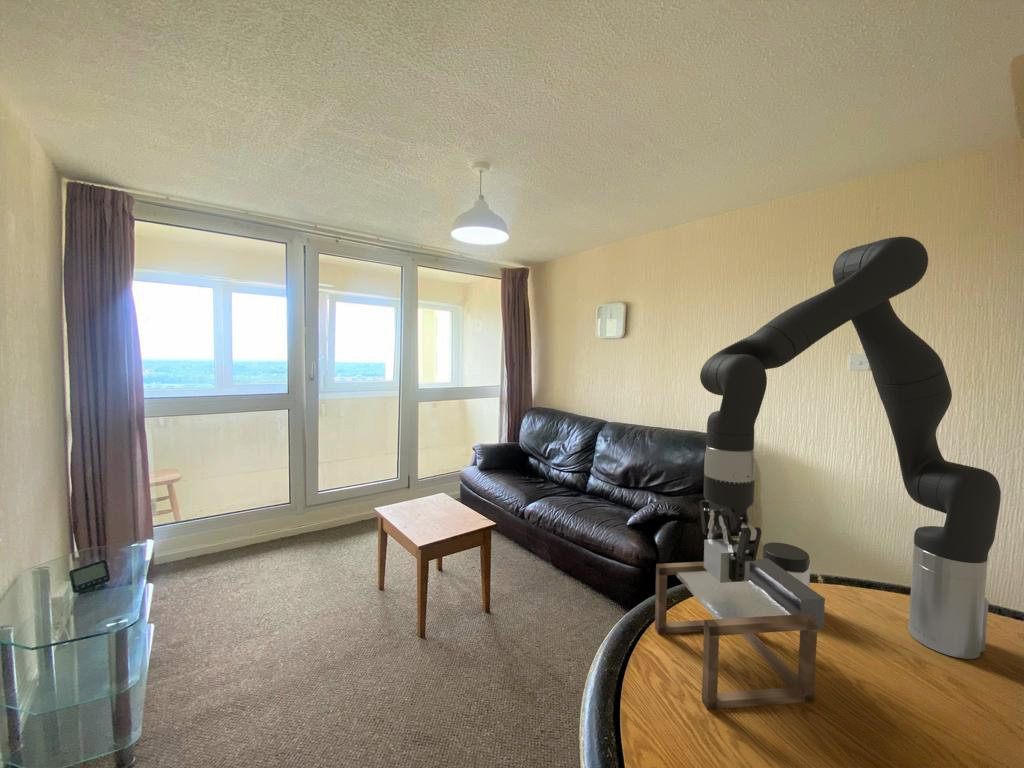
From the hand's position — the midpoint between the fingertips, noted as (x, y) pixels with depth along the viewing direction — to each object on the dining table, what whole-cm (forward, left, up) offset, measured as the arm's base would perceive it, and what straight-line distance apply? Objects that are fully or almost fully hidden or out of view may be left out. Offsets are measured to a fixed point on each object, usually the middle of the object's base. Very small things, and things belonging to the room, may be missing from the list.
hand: (726, 571), depth 71 cm
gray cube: (0, 0, 0) cm, 1 cm away
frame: (-1, 0, -16) cm, 16 cm away
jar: (-22, -14, -16) cm, 31 cm away
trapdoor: (-4, 0, -7) cm, 7 cm away
